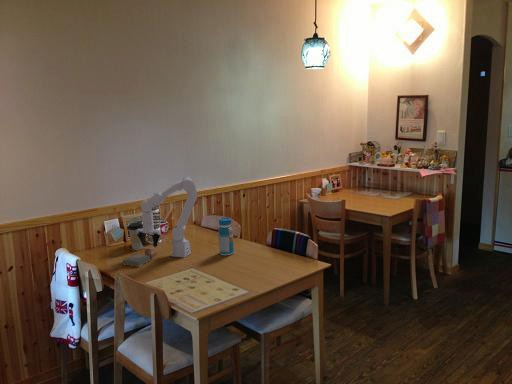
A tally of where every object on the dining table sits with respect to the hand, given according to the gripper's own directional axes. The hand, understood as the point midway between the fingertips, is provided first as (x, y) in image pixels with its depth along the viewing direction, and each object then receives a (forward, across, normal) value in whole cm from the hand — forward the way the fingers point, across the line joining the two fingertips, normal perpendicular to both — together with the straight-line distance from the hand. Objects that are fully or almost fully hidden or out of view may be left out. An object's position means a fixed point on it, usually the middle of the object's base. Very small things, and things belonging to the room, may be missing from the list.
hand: (149, 246), depth 258 cm
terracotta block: (+7, 0, 0) cm, 7 cm away
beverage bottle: (+7, +38, +19) cm, 43 cm away
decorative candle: (+7, -16, +27) cm, 32 cm away
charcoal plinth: (+7, -2, -10) cm, 12 cm away
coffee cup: (+7, -17, +11) cm, 21 cm away
